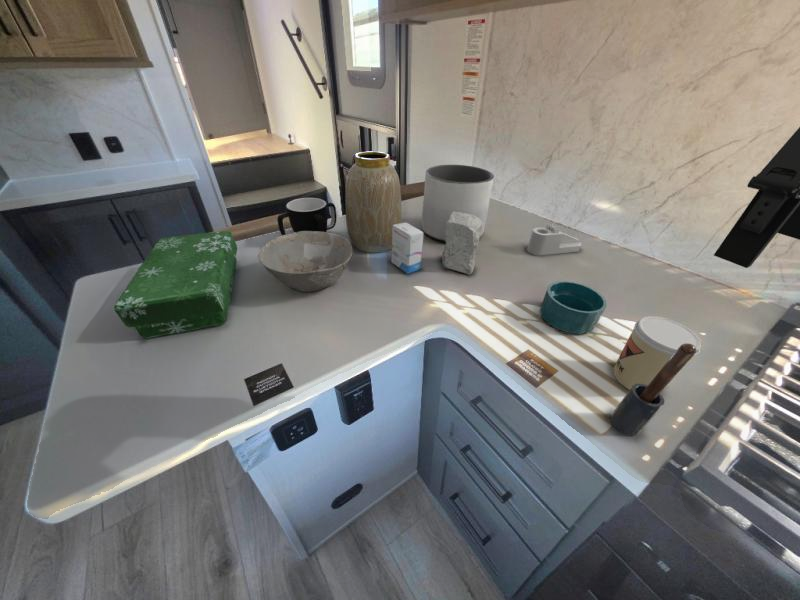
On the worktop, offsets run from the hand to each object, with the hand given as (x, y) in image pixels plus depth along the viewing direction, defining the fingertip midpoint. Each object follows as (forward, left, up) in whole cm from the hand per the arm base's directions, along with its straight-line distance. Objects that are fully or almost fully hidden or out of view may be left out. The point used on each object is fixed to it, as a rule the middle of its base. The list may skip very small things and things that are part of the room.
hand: (764, 248), depth 33 cm
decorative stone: (+55, -4, -33) cm, 64 cm away
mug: (+89, +31, -33) cm, 100 cm away
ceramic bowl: (+63, +37, -33) cm, 80 cm away
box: (+69, +64, -33) cm, 100 cm away
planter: (+76, -16, -33) cm, 84 cm away
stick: (0, 0, -32) cm, 32 cm away
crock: (0, 0, -33) cm, 33 cm away
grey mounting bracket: (+51, -39, -33) cm, 72 cm away
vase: (+78, +13, -33) cm, 86 cm away
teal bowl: (+24, -14, -33) cm, 43 cm away
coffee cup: (+5, -11, -33) cm, 35 cm away
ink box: (+61, +10, -33) cm, 70 cm away
